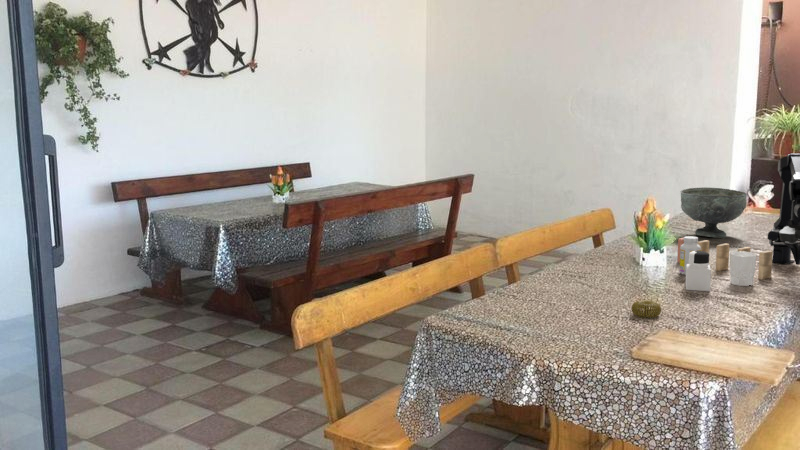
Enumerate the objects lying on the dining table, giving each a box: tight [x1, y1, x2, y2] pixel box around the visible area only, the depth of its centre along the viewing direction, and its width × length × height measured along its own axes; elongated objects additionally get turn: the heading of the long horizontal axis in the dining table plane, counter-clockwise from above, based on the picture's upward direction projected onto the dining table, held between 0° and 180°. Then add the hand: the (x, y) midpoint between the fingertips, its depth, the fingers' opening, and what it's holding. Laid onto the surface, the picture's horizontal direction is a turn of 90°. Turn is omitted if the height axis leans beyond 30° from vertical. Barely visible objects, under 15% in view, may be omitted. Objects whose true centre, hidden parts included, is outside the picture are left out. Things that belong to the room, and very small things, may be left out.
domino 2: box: [697, 239, 710, 254], centre depth 269 cm, size 5×2×9 cm, turn 123°
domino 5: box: [757, 250, 773, 280], centre depth 249 cm, size 5×2×9 cm, turn 123°
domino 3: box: [715, 243, 730, 272], centre depth 262 cm, size 5×2×9 cm, turn 123°
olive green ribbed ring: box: [631, 299, 662, 319], centre depth 210 cm, size 8×4×8 cm
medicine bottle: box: [685, 251, 712, 292], centre depth 237 cm, size 7×7×12 cm
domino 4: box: [736, 246, 752, 252], centre depth 255 cm, size 5×2×9 cm, turn 123°
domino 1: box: [676, 237, 684, 264], centre depth 275 cm, size 5×2×9 cm, turn 123°
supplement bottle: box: [679, 235, 701, 276], centre depth 257 cm, size 7×7×13 cm
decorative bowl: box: [680, 186, 748, 239], centre depth 323 cm, size 26×26×20 cm
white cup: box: [729, 251, 758, 287], centre depth 242 cm, size 8×8×10 cm
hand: (797, 264), depth 239 cm, fingers closed
